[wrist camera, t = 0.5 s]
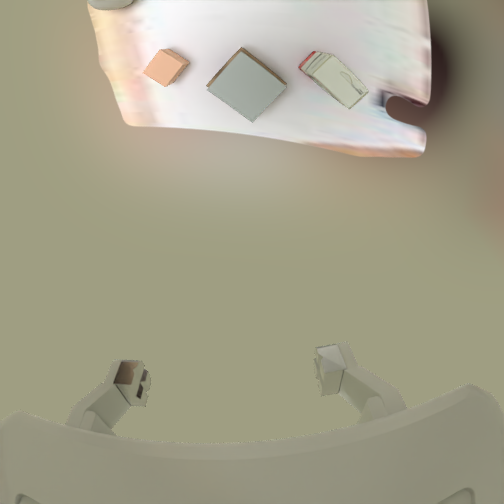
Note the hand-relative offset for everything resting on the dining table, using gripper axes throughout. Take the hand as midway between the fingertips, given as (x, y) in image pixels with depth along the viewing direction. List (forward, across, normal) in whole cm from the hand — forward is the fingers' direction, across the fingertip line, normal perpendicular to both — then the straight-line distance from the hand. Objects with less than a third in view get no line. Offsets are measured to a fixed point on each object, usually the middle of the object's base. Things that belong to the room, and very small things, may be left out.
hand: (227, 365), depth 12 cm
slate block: (+40, -4, -17) cm, 43 cm away
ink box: (+43, -18, -19) cm, 51 cm away
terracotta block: (+43, +9, -24) cm, 50 cm away
